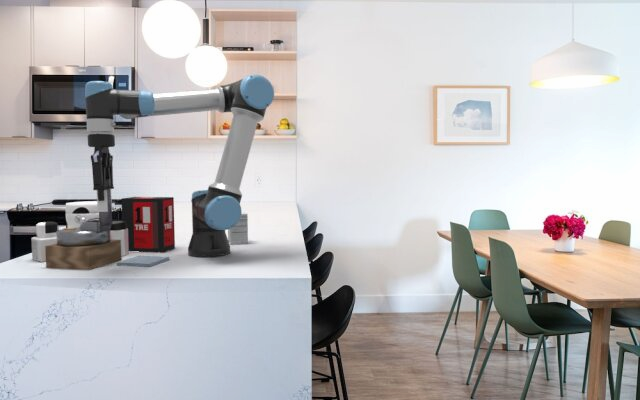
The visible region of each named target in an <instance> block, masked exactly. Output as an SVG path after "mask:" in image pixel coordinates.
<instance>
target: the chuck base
mask: <svg viewBox="0 0 640 400" xmlns="http://www.w3.org/2000/svg"><path fill="white" fill-rule="evenodd" d="M45 252H46V262H45V267H46V268H47V269H48V268H49V269H63V268H67V270H68V269H69V270H82V269H84V270H85V271H87V270H89V271H90V269H91V270H93V269H94V270H95V269H97V268H99V267H104V266H106V265H109V264H113V262H114V263H117V262H119V260H120V261H122V256H121V240H110V241H109V242H106V243H101V244H94V245H83V246H62V245H58V244H57V243H56V244H52V245H47V246H45ZM116 261H117V262H116Z"/></svg>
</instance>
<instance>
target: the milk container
mask: <svg viewBox="0 0 640 400" xmlns="http://www.w3.org/2000/svg"><path fill="white" fill-rule="evenodd" d="M64 211H65V222H66V225H65V228H77V227H80V218H82V217H86V218H87V221H91V220H99V212H98V207H97V200H93V201H92V200H90V201H89V200H88V201H73V202H72V201H71V202H66V203H65V209H64Z"/></svg>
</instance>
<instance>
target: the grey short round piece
mask: <svg viewBox="0 0 640 400" xmlns="http://www.w3.org/2000/svg"><path fill="white" fill-rule="evenodd" d="M110 229H111V225H107V226H100V224H99V220H91V221H87V218H86V217H82V218H80V227H77V228H66V227H65V228H62V229H58V231H56V235H57V244H58V245H62V246H83V245H94V244H101V243H106V242H109V241H110V240H111V239H110Z"/></svg>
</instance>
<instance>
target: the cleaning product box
mask: <svg viewBox="0 0 640 400" xmlns="http://www.w3.org/2000/svg"><path fill="white" fill-rule="evenodd" d="M174 199H175V197H173V196H168V197H167V196H131V197H123V198H121V203H120V204H121V221H126V222H127V228H128V245H129V251H139V252H138V253H158V252H160V253H163V254H164V253H167V252H169V251H172V250H175V249H176V242H175V241H176V240H175V239H176V238H175V235H176V234H175V204H174V203H175V201H174ZM160 253H159V254H160Z"/></svg>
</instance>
